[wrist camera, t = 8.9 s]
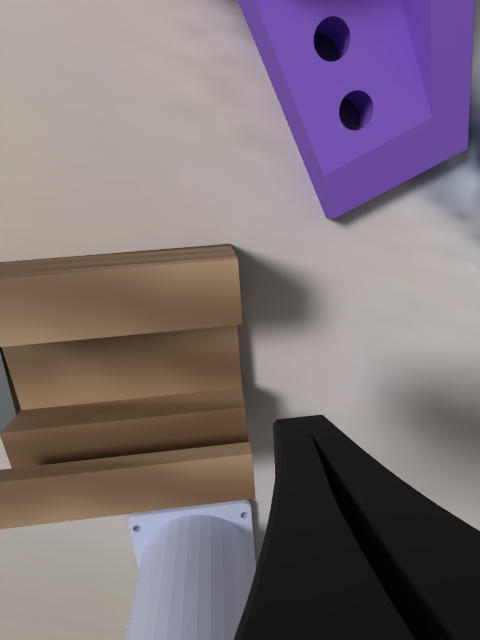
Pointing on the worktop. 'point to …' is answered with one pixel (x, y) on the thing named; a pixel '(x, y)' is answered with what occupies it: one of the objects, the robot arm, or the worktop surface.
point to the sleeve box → (123, 384)
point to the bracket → (369, 87)
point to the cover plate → (7, 395)
